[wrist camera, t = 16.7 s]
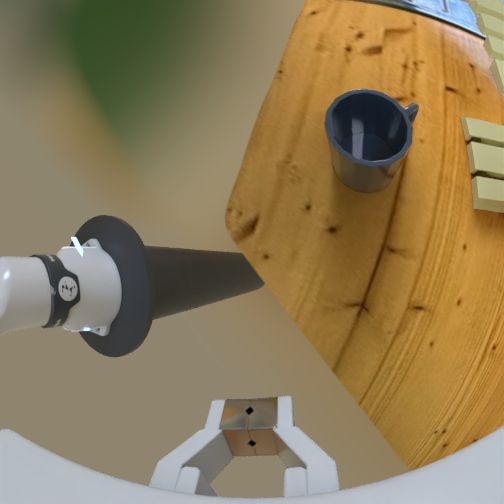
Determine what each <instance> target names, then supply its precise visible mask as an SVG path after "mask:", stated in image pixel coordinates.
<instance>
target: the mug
mask: <svg viewBox="0 0 504 504" xmlns="http://www.w3.org/2000/svg"><path fill="white" fill-rule="evenodd" d="M418 109H419V106H418V105H417V104H416V103H412V104H410V105H408V106H407V107H405V108H402V107H401V106H400V104H399V103H398V102H397V101H396V100H394V99H393V98H391V97H389V96H387V95H386V94H384V93H382V92H379V91H374V90H369V89H359V90H352V91H348V92H346V93H344V94H343V95H341V96H339V97H337V98H336V99H335V100H334V101H333V103H332V104H331V105H330V107H329V108H328V110H327V114H326V119H325V129H326V133H327V138H328V142H329V147H330V152H331V157H332V162H333V167H334V170H335V172H336V175H337V176H338V178H339V179H340V180H341V182H342V183H343V184H344V185H346V186H347V187H349V188H350V189H352V190H354V191H357V192H361V193H375V192H378V191H381V190H383V189H384V188H386V187H387V186H388V185H389V184H390V183H391V182H392V180H393V178H394V177H395V175H396V174H397V172H398V170H399V168H400V166H401V164H402V162H403V160H404V158H405V156H406V154H407V152H408V150H409V148H410V145H411V143H412V130H413V128H412V125H413V122H414V120H415V117H416V114H417V112H418Z"/></svg>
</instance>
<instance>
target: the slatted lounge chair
mask: <svg viewBox="0 0 504 504" xmlns="http://www.w3.org/2000/svg"><path fill="white" fill-rule="evenodd" d="M469 6H470V8H471V9H472V11H473V12H474V14H476V15H479V17H478V20H477V23H476V24H477V26H478V28H479V29H480V31H481V33H482V34H483V35H486V36H487V38H486V40H485V42H484V44H483V45H484V47H485V49H486V51H487V53H488V55H489V57H491V58H494V61H493V63H492V65H491V66H490V70H491V72H492V74H493V77H494V79H495V82H496V84H497V87H498V90H499V92H500V95H501V96H502V97H504V2H502V1H500V0H470V1H469ZM460 119H461V123H462V127H463V132H464V137H465V140H466V141H469V144H468V145H467V146H466V148H467V154H468V161H469V168H470V173H473V174H474V178H473V179H472V180H471V186H472V198H473V209H480V210H487V211H494V212H500V213H504V181H502V180H496V179H491V178H487V176H489V177H495V178H499V179H504V126H503V125H499V124H495V123H490V122H486V121H482V120H478V119H473V118H469V117H460Z"/></svg>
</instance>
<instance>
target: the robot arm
mask: <svg viewBox="0 0 504 504" xmlns="http://www.w3.org/2000/svg"><path fill="white" fill-rule="evenodd" d="M72 241H73V242H74V244H75V246H76V247H63V248H62V249H61V250H60V251H59V252H58V253H57V254H56V255H48V254H42V255H33V256H31V257H6V256H3V257H0V336H2V335H4V334H7V333H10V332H14V331H18V330H23V329H28V328H33V327H39V326H41V327H42V328H55V327H57V326H62V325H63V328H64V329H65V330H69V331H70V332H79V331H91V332H93V333H96V334H98V335H101V336H107V335H108V334H109V330H110V326H111V323H112V321H113V320H114V319H115V318H116V316H117V314H118V312H119V309H120V305H121V298H122V287H121V280H120V275H119V272H118V269H117V266H116V264H115V262H114V261H113V259H112V258H111V256H110V255H109V254H108V253H106V252H105V251H104V250H103V249H102V248H101V246H100V244H99V242H98V240H97V239H90V240H89V241H87V242H86V243H84V244H83V245H82V246H80V244H79V242H78V240H77V238H76V237H72ZM265 455H278V456H279V457H280V459H281V460H282V461H283V462H284V464H285V465H286V466H287V468H288V469H286V470H285V471H284V497H273V498H235V497H218V496H217V495H216V493H215V492H214V490H213V489H212V488H211V486H210V485H209V484H210V483H211V482H212V481H213V480H214V479H215V478H216V477H217V476H218V475H219V473H220V472H221V471H222V470H223V469H224V468H225V467H226V466H227V465H228V463H229V462H230V461H231V460H232V459H233V458H234V457H233V456H265ZM0 504H504V425H502V426H501V427H499V428H498V429H496V430H495V431H493V432H491V433H490V434H488V435H487V436H485V437H483V438H481V439H480V440H478V441H476V442H474V443H472V444H471V445H469V446H467V447H465V448H463V449H461V450H459V451H457V452H455V453H453V454H451V455H449V456H447V457H444V458H442V459H440V460H438V461H435V462H433V463H430V464H428V465H425V466H423V467H420V468H418V469H415V470H412V471H410V472H407V473H404V474H401V475H398V476H395V477H391V478H388V479H385V480H382V481H378V482H374V483H370V484H366V485H362V486H358V487H353V488H348V489H343V490H340V489H339V482H338V475H337V469H336V463H335V461H334V460H333V459H332V458H331V457H330V456H329V455H328V454H326V453H325V452H324V451H323V450H322V449H321V448H320V447H319V446H318V445H316V444H315V443H314V442H313V441H312V440H311V439H310V438H309V437H308V436H307V435H306V434H305V433H304V432H303V431H302V430H301V429H299V428H298V427H297V426H296V427H295V423H294V414H293V404H292V396H291V395H288V396H280V397H269V398H258V399H235V400H234V399H230V400H229V399H227V400H213V401H212V403H211V407H210V410H209V414H208V417H207V421H206V425H205V428H204V430H202V429H201V430H200V431H198V432H197V433H195V434H194V435H193V436H192V437H190V438H189V439H188V440H187V441H185V442H184V443H183V444H182V445H180V446H179V447H177V448H176V449H175V450H173V451H172V452H171V453H169V454H168V455H167V456H165V457H164V458H163V459H161V460H160V461H158V464H157V466H156V469H155V471H154V474H153V476H152V479H151V481H150V484H149V486H146V485H141V484H137V483H134V482H130V481H127V480H123V479H120V478H116V477H113V476H110V475H107V474H104V473H101V472H98V471H95V470H92V469H90V468H87V467H85V466H82V465H79V464H77V463H75V462H72V461H70V460H67V459H65V458H63V457H61V456H59V455H57V454H54V453H52V452H50V451H48V450H46V449H44V448H42V447H41V446H39V445H37V444H35V443H33V442H31V441H29V440H28V439H26V438H24V437H23V436H21V435H19V434H17V433H16V432H14V431H13V430H11V429H3V430H0Z"/></svg>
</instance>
